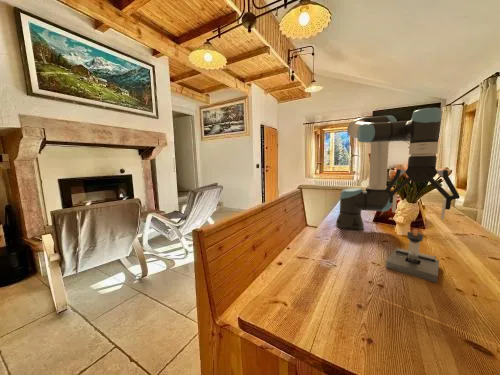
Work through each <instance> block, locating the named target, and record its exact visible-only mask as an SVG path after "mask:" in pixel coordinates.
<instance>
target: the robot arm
mask: <svg viewBox="0 0 500 375" xmlns="http://www.w3.org/2000/svg"><path fill="white" fill-rule="evenodd" d="M442 120H443V119H442V109H441V108H440V107H425V108H421V109H417V110H414V111H413V112H412V116H411V119H410V120H400V121H399V120H398V121H397V118H396V117H395V116H393V115H377V116H375V115H374V116H364V117H360V118H356V119H354V120H352V121H351V122H350V123H349V124H348V125H347V133H348V135H349V136H350V137H352V138H355V139H357V142H359V143H365V144H366V143H369V144H370V155H369V156H370V158H369V173H368V174H369V175H368V176H369V179H368V185H367V186H366V187H365V190H363V188H358V187H357V188H356V187H355V188H351V187H350V188H345V189H343V190H341V191H340V196H339V213H338V216H337V218H336V224H335V226H336V225H337V226H336V227H338V228H340V229H343V230H347V229H348V230H349V231H361V230H364V227H365V226H364V225H365V224H364V220H363V218H362V211H365V212H366V211H371V212H372V211H373V212H387V211H390V209H391V212H392V213H396V212H397V202H398V201H397V198H398V195H397V194H396V193H397V192H398V191H400V190H401V189H402V188H403V187H405V186H406V185H407V184H408V183H409V182H413V183H424V184H425V183H430V184H431V185H432V186H433V187H434V188H435V189H436V190H437V191H438V192H439V193H440V194H441V195H442V196H443V197H444V198H442V206H441V214H440V215H441V216H440V220H445V215H446V210H450V209H451V206H452V205H451V204H452V200H458V199H460V198H461V196H460V194H459V192H458V190H457V189H456V187H455V185H454V184H453V182H452V180H451V178H450V177H449V170H448V169H443V170H437V158H438V157H437V156H436V155H437V154H438V152H439V151H438V150H439V140H440V132H441V131H440V130H441V125H442V124H441V123H442ZM390 142H409V148H408V149H409V150H408V155H409V157H408V159H407V160H408V161H407V168H406V169H401V168H399V169H396V170H395V171H396V172H395V175H394V177H393V178H392V179H391V181H390V182H389V183H388V184H387V181H388V163H389V162H388V161H389V160H388V159H389V147H390V146H389V144H390ZM404 174H406V176H407V178H405V180H403V181H402V182H401V183H400V184H399V185H398V186H396V187H394V186H395V184H396V183H397V181H398V180H399V178H401V176H403V175H404ZM436 175H439V176H440V177H442V178H443V180H444V182H445V184H446V185H447V187H448V189H449V191H450V193H451V194H449V192H448V191H447V190H446V189H444V188H443V186H442V185H440V184H439V183H438V182H437V181H436V180H435V178H434V177H436ZM393 187H394V189H393V190H392V188H393Z"/></svg>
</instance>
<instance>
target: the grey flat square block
mask: <svg viewBox="0 0 500 375" xmlns="http://www.w3.org/2000/svg"><path fill="white" fill-rule="evenodd" d="M408 250H409V249H405V248H401V247H398V246H397V247H396V248H395V249H393V250H392V251H391V253H390V255H389V257H388V258H387V259H386V261H385V268H386V269H389V270H393V271H395V272H399V273H402V274H405V275H408V276H412V277H416V278H419V279H422V280H425V281H429V282H432V283H436V284H437V283H438V277H439V268H440V259H439V260H438V259H437V256H436V255H431V254H426V253H423V252H422V253H421V252H419V257H418V264H414V263H410V262H408Z"/></svg>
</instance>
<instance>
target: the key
mask: <svg viewBox="0 0 500 375" xmlns="http://www.w3.org/2000/svg"><path fill="white" fill-rule="evenodd" d="M412 230H413V231H408V232H407V236H406V238H407V240H409V241H408V249H407V250H408V262H410V263H414V264H418V257H419V253H420V247H421V246H420V245H421V242H423V240H424V234H423V233H421V232H418V231H419V230H418V229H415V228H413V229H412Z"/></svg>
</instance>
